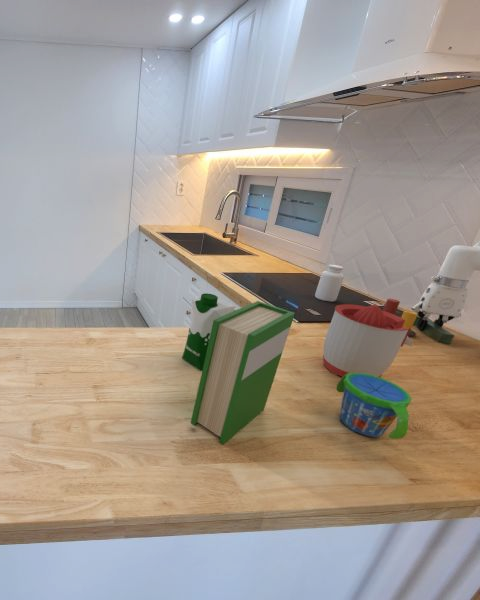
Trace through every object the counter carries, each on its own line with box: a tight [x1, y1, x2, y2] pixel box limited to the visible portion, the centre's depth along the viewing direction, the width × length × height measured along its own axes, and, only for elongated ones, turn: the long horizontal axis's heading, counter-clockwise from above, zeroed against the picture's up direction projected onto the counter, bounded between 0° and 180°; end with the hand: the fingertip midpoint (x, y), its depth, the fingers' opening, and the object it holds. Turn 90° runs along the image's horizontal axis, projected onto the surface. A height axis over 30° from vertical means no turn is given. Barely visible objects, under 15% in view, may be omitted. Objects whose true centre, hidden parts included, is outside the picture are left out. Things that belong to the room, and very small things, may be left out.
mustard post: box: [400, 309, 418, 338], centre depth 118 cm, size 7×7×8 cm
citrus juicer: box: [322, 303, 413, 378], centre depth 89 cm, size 16×17×20 cm
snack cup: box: [335, 373, 412, 440], centre depth 71 cm, size 16×10×10 cm
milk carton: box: [182, 292, 236, 372], centre depth 90 cm, size 9×9×20 cm
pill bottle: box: [314, 264, 345, 302], centre depth 146 cm, size 8×8×15 cm
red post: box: [382, 298, 401, 315], centre depth 128 cm, size 7×7×8 cm
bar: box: [413, 315, 455, 345], centre depth 121 cm, size 3×20×3 cm, turn 161°
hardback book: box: [190, 300, 296, 446], centre depth 69 cm, size 18×7×24 cm, turn 129°
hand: (427, 329), depth 121 cm, fingers open, 3 cm apart
